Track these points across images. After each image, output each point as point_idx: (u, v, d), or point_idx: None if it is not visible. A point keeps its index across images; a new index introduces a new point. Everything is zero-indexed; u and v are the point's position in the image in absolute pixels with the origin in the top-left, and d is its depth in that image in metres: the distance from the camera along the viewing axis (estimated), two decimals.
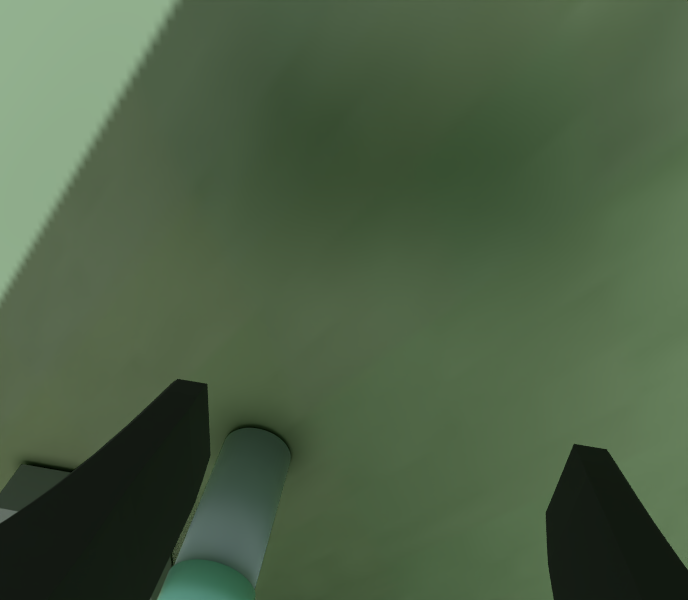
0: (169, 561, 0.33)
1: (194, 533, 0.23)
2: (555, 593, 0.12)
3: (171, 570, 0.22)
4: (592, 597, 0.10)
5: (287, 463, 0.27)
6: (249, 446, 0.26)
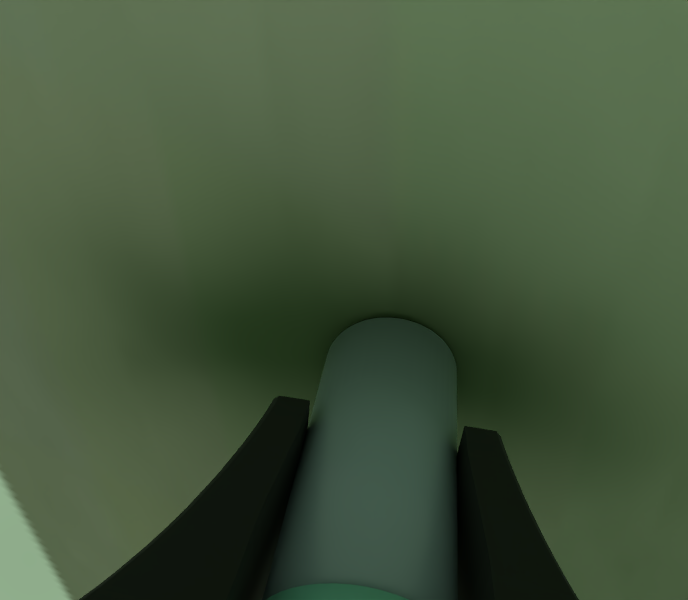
0: None
1: (274, 554, 0.10)
2: None
3: None
4: (465, 574, 0.10)
5: (434, 348, 0.14)
6: (340, 357, 0.13)
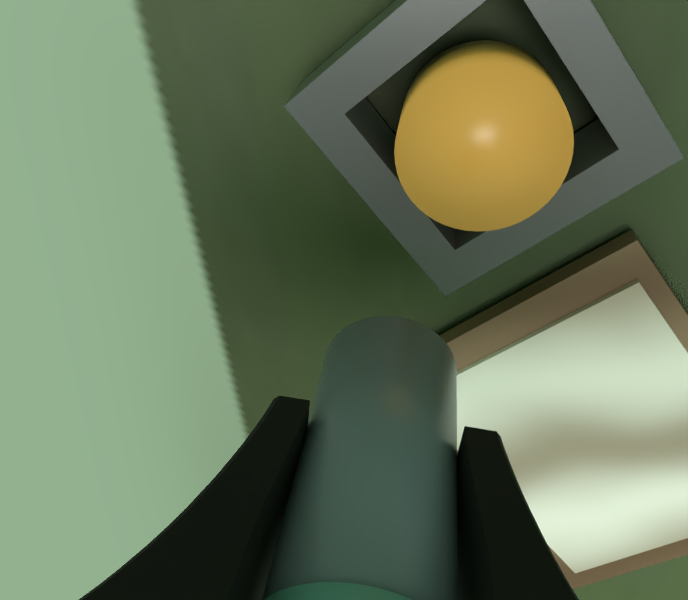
0: None
1: (274, 552, 0.10)
2: None
3: None
4: (465, 574, 0.10)
5: (433, 347, 0.13)
6: (339, 356, 0.13)
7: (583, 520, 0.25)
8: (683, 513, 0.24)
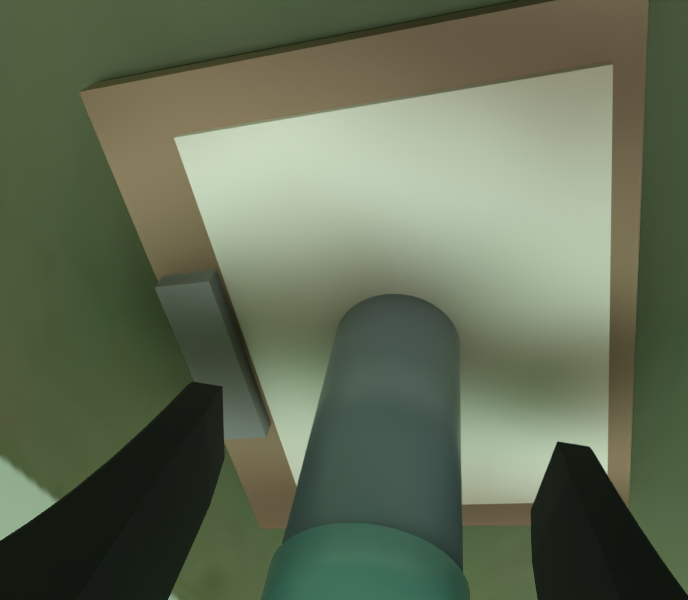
0: None
1: (292, 505, 0.11)
2: (538, 590, 0.12)
3: None
4: (573, 594, 0.10)
5: (438, 322, 0.14)
6: (350, 330, 0.14)
7: None
8: (476, 469, 0.17)
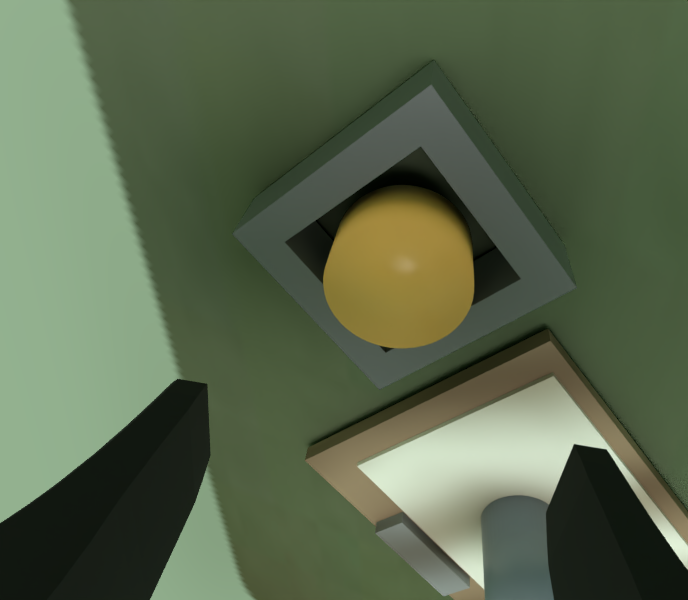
0: (539, 211, 0.19)
1: None
2: (555, 593, 0.12)
3: None
4: (592, 597, 0.10)
5: (533, 508, 0.25)
6: (486, 530, 0.25)
7: None
8: None
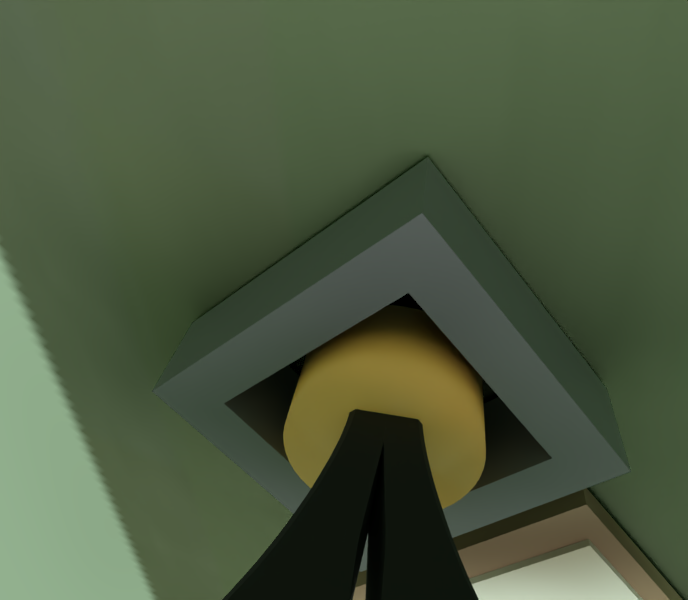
0: (574, 349, 0.14)
1: None
2: (367, 559, 0.12)
3: None
4: (375, 558, 0.11)
5: None
6: None
7: None
8: None
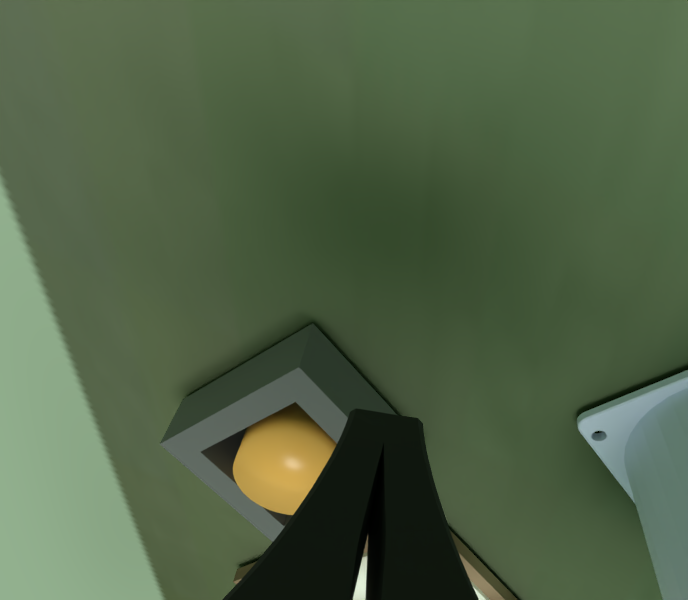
0: None
1: None
2: (367, 559, 0.12)
3: None
4: (375, 558, 0.11)
5: None
6: None
7: None
8: None
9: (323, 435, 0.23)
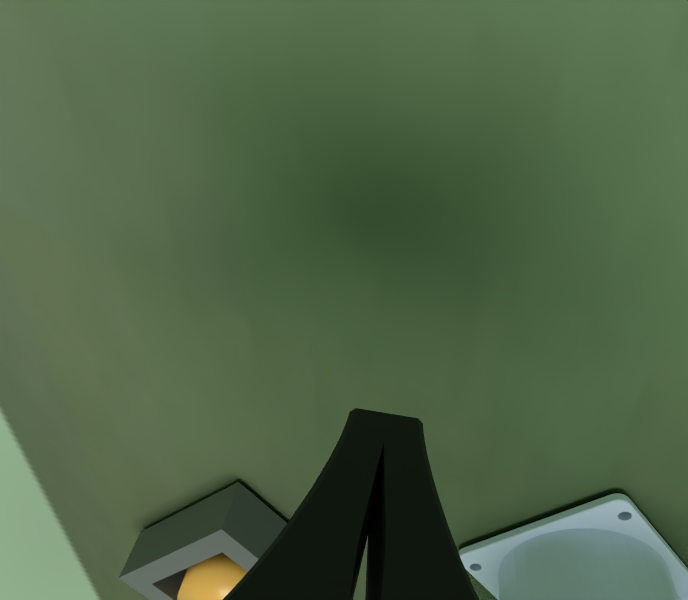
0: None
1: None
2: (367, 559, 0.12)
3: None
4: (375, 558, 0.11)
5: None
6: None
7: None
8: None
9: None
